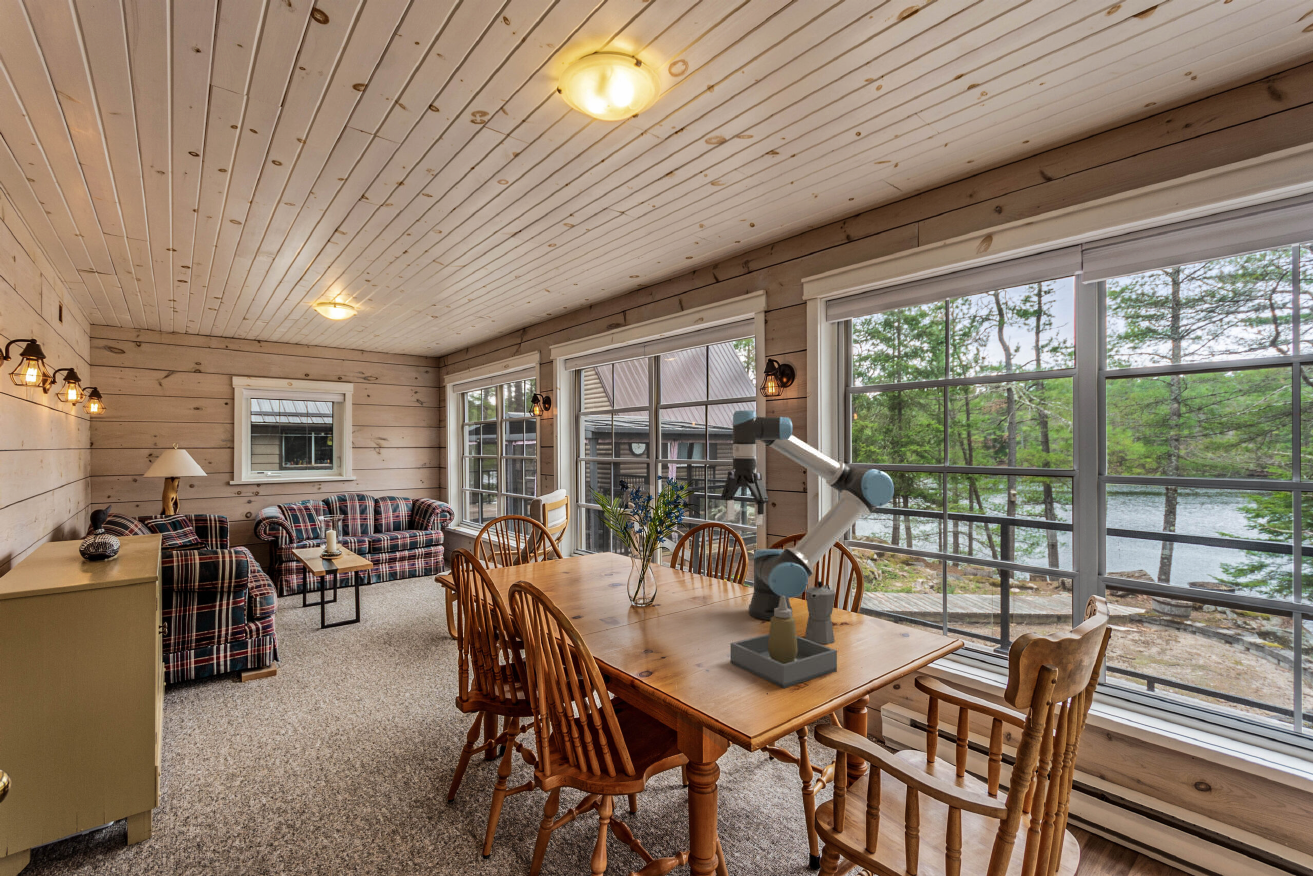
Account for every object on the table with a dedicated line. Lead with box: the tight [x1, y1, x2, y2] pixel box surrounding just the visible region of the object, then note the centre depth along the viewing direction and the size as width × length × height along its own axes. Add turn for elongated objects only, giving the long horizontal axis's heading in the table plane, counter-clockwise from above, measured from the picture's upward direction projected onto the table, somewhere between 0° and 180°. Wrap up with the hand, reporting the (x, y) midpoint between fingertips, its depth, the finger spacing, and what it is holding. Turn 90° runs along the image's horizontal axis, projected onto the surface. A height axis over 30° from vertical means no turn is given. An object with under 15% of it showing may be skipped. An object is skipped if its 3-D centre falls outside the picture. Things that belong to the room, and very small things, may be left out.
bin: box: [730, 633, 838, 689], centre depth 161 cm, size 20×20×6 cm
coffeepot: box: [804, 580, 836, 645], centre depth 184 cm, size 15×9×18 cm, turn 147°
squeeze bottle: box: [768, 596, 798, 664], centre depth 161 cm, size 8×8×18 cm
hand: (744, 522), depth 194 cm, fingers open, 13 cm apart
